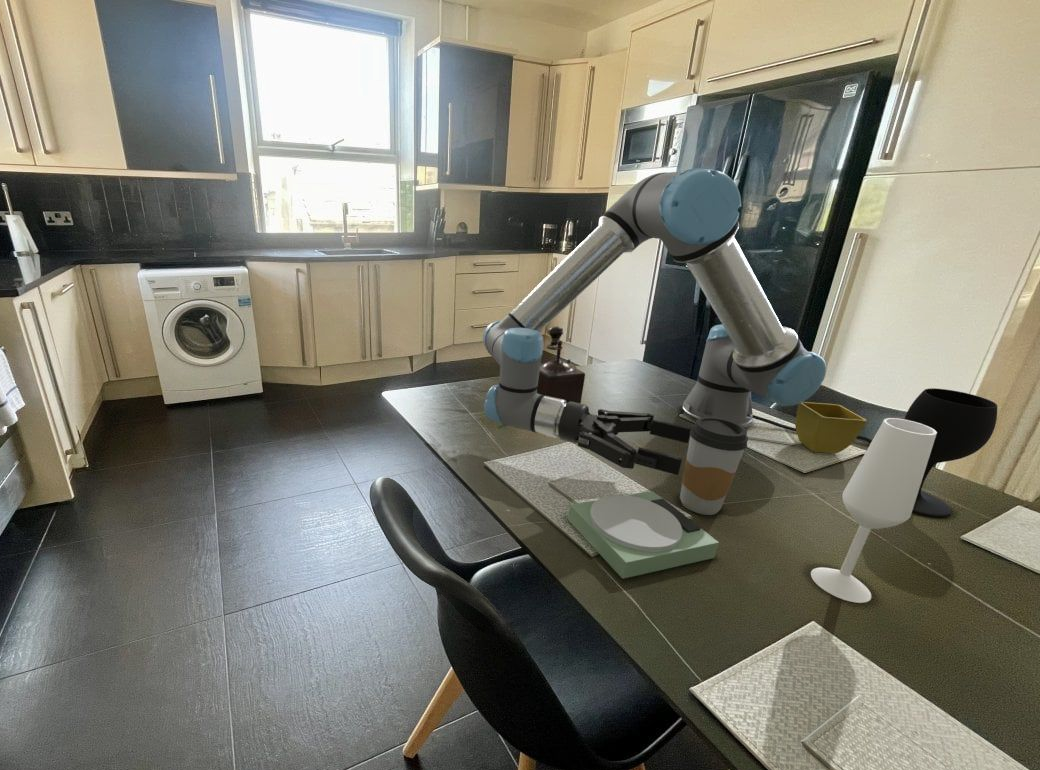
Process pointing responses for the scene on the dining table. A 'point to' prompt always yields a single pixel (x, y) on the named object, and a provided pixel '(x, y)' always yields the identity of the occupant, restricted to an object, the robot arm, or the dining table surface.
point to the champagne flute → (880, 496)
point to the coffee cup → (711, 463)
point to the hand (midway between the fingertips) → (685, 450)
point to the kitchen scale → (641, 533)
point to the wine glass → (950, 434)
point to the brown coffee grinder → (560, 374)
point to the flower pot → (827, 426)
